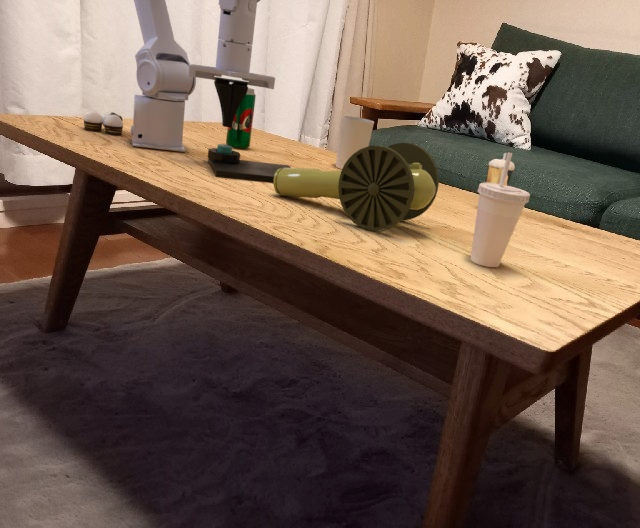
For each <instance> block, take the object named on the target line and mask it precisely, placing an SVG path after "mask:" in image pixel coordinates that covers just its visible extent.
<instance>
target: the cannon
mask: <svg viewBox="0 0 640 528" xmlns="http://www.w3.org/2000/svg"><path fill="white" fill-rule="evenodd" d="M439 176H440V175H439V171H438V167H437V164H436V162H435V160H434V158H433V157H432V156H431V154H430V153H429V152H428V151H427V150H426V149H424V148H423V147H422V146H420V145H418V144H415V143H413V142H398V143H394V144H390V145H388V146H384V145H371V146H370V145H369V146H368V147H365V148H362V149H360V150H359V151H357V152H355V153H354V154H353V155H352V156H351V157H350V158H349V159H348V160H347V162H346V163H345V165H344V167H343V169H341V170H321V169H320V168H303V167H302V168H301V167H291V168H283V169H278V170H277V171H276V173H275V175H274V182H272V183H273V189H274V191H275V193H276V194H277V195H280V196H283V197H292V198H293V197H294V198H295V197H296V198H308V199H318V198H327V199H335V200H339V202H340V205H341V208H342V209H343V212H344V213H345V215H346V217H347V218H348V219H349V220H350V221H351V222H352V223H353V224H355V225H356V226H358V227H359V228H361V229H363V230H367V231H371V232H379V231H384V230H387V229H390V228H392V227H393V226H396V225H397V224H399V223H400V222H402V221H409V220H413V219H416V218H417V217H420V216H422V215H423V214H424V213H425V212H427V211H428V209H429V208H430V207H431V206H432V205H433V203H434V201H435V199H436V197H437V194H438V191H439V185H440V184H439V182H440V179H439V178H440V177H439Z"/></svg>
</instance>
